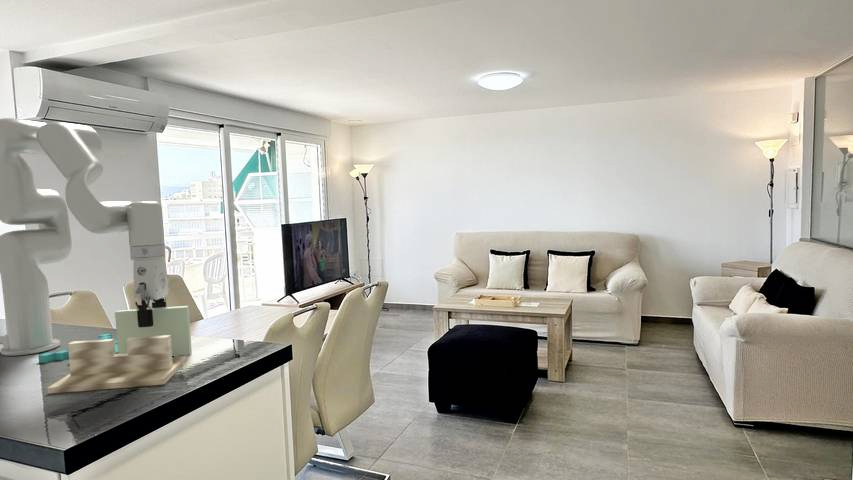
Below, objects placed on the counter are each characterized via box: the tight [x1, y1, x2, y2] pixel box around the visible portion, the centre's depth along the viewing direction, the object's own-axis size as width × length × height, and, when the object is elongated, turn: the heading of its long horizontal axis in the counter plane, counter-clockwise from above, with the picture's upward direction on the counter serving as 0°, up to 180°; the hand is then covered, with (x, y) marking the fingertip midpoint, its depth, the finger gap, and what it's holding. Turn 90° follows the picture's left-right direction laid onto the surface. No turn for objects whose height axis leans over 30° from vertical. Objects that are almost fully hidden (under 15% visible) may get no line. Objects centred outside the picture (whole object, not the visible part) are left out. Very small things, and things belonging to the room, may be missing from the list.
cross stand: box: [46, 335, 188, 395], centre depth 114 cm, size 22×16×8 cm
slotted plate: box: [114, 305, 193, 357], centre depth 128 cm, size 16×2×12 cm, turn 102°
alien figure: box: [38, 333, 118, 364], centre depth 135 cm, size 20×2×20 cm
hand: (153, 322), depth 128 cm, fingers open, 9 cm apart
